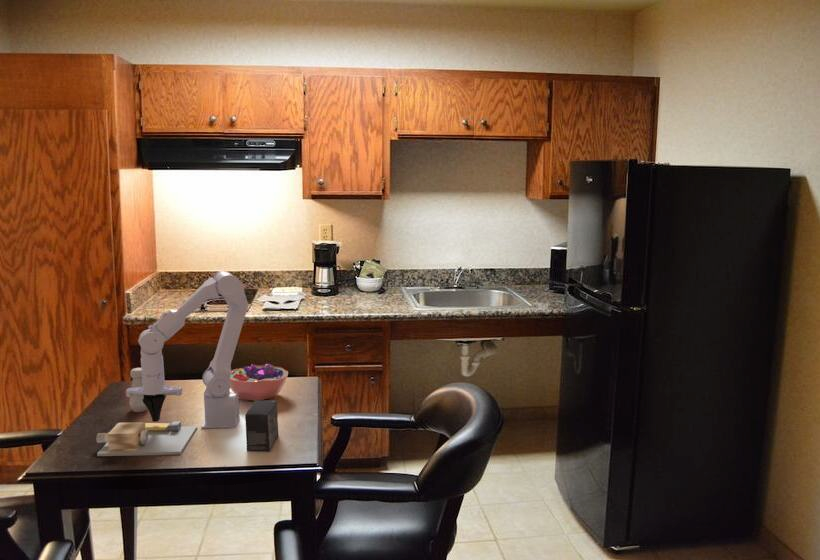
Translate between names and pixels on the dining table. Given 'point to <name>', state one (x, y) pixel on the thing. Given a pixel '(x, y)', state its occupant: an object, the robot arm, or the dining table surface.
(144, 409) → the salt shaker
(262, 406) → the small box
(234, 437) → the dining table surface
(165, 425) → the tab
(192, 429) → the board
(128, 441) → the block
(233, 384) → the cell model
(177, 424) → the block
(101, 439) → the pin
